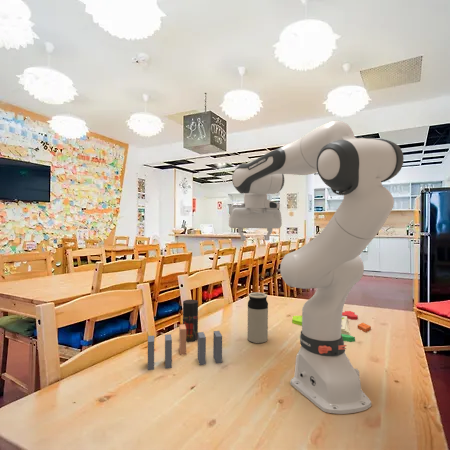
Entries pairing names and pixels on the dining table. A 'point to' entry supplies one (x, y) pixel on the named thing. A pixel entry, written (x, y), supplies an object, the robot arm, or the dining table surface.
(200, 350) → the domino
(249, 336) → the travel mug
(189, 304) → the deodorant
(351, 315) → the pattern blocks set
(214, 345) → the domino
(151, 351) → the domino
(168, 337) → the domino
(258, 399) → the dining table surface
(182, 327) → the domino
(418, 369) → the dining table surface
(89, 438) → the dining table surface
